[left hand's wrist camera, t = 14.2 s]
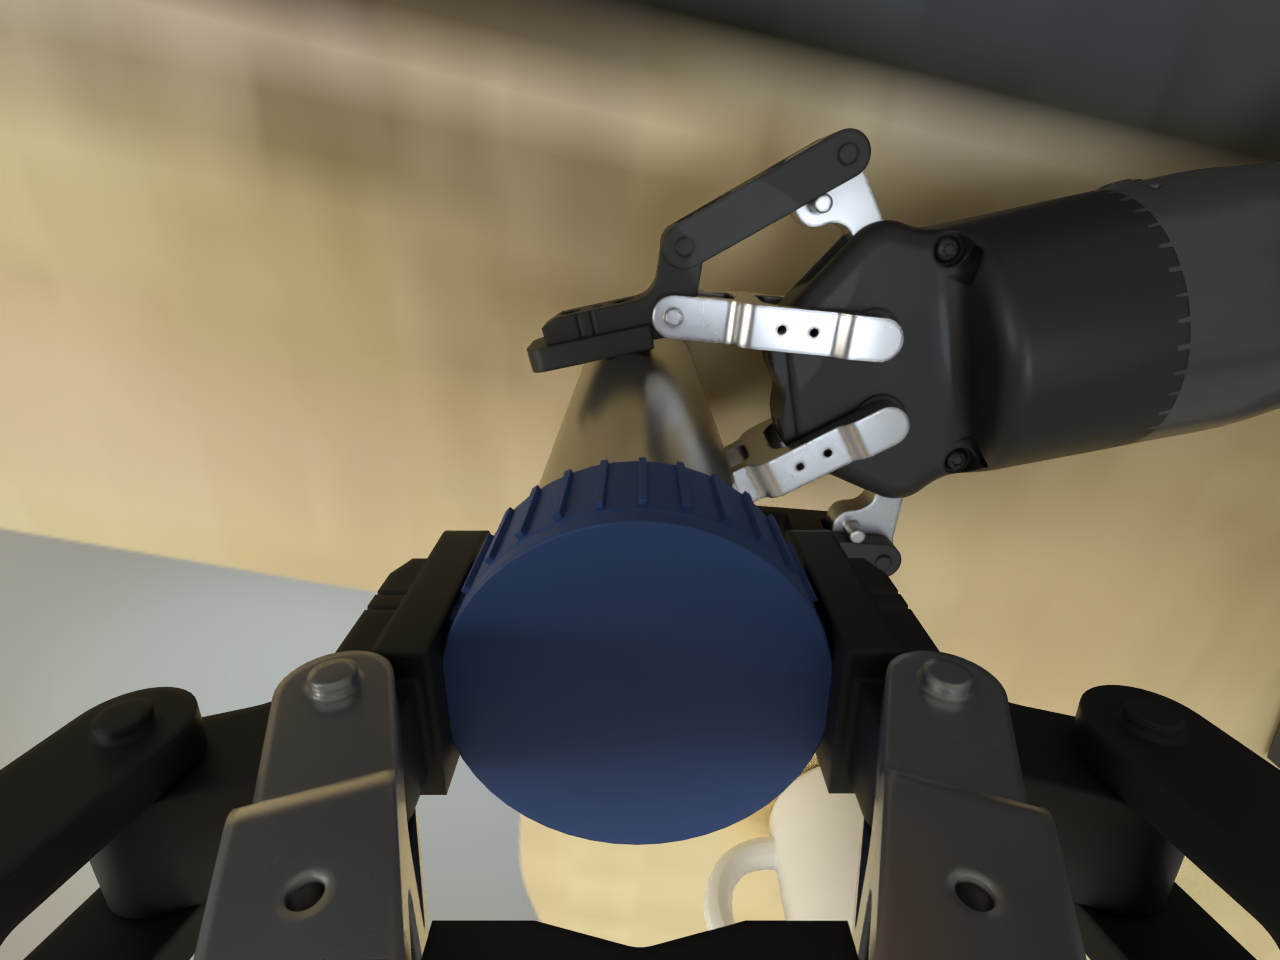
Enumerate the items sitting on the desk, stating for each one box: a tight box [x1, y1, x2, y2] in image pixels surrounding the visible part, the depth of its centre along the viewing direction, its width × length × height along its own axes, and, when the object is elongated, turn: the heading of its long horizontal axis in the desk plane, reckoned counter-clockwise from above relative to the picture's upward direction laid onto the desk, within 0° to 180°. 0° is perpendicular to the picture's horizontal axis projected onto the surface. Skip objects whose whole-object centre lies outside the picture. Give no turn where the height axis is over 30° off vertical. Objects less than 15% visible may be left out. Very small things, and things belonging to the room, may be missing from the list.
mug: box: [704, 766, 863, 934], centre depth 31 cm, size 12×8×10 cm
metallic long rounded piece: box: [539, 338, 740, 492], centre depth 18 cm, size 4×4×19 cm
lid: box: [442, 457, 833, 845], centre depth 10 cm, size 5×5×2 cm
